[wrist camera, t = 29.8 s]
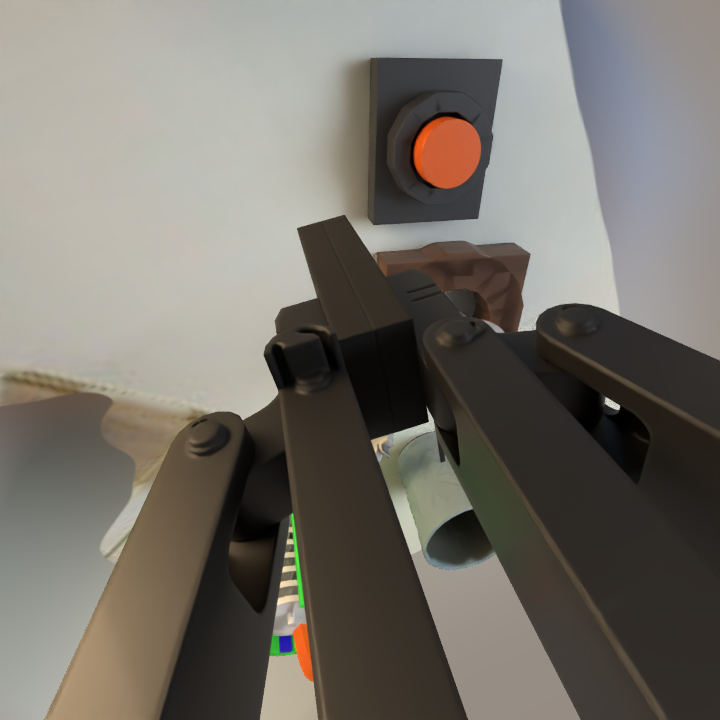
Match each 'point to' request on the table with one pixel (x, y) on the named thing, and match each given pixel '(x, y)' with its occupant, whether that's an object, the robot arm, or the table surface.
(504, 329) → the bulb stand
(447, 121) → the test button
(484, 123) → the black button base
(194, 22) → the table surface
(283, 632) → the green-shelled ribbed roller
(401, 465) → the grey embossed cup
